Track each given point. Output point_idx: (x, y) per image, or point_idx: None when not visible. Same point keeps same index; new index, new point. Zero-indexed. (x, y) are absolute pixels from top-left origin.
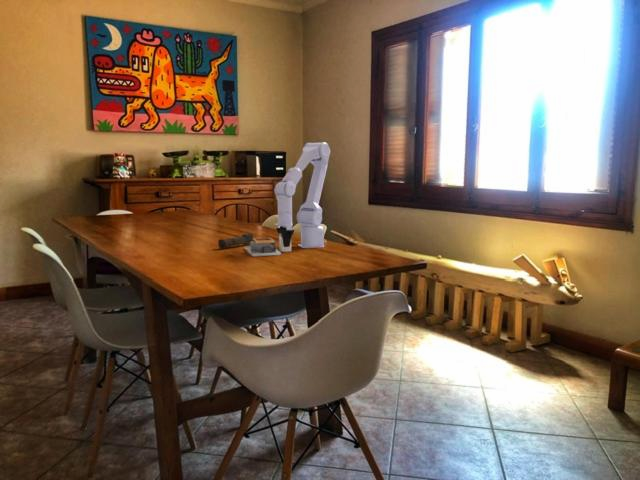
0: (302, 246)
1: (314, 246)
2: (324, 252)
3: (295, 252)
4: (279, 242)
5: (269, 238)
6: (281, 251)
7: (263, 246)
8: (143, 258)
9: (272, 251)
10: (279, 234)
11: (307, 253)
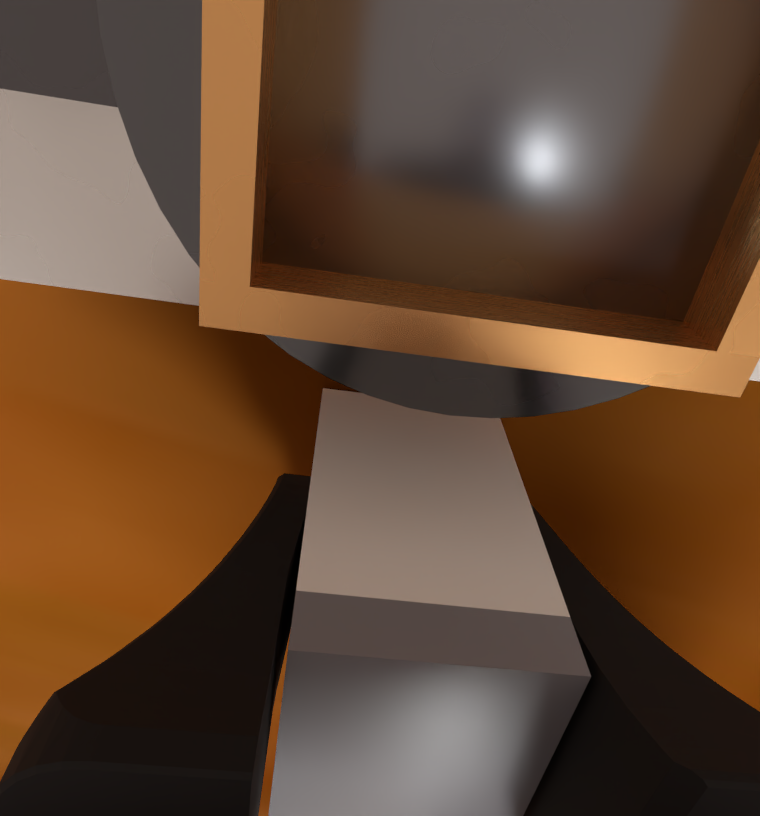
0: None
1: None
2: None
3: (177, 536)
4: (504, 495)
5: (642, 339)
6: (335, 391)
7: None
8: None
9: (101, 144)
10: (539, 641)
11: (45, 626)
